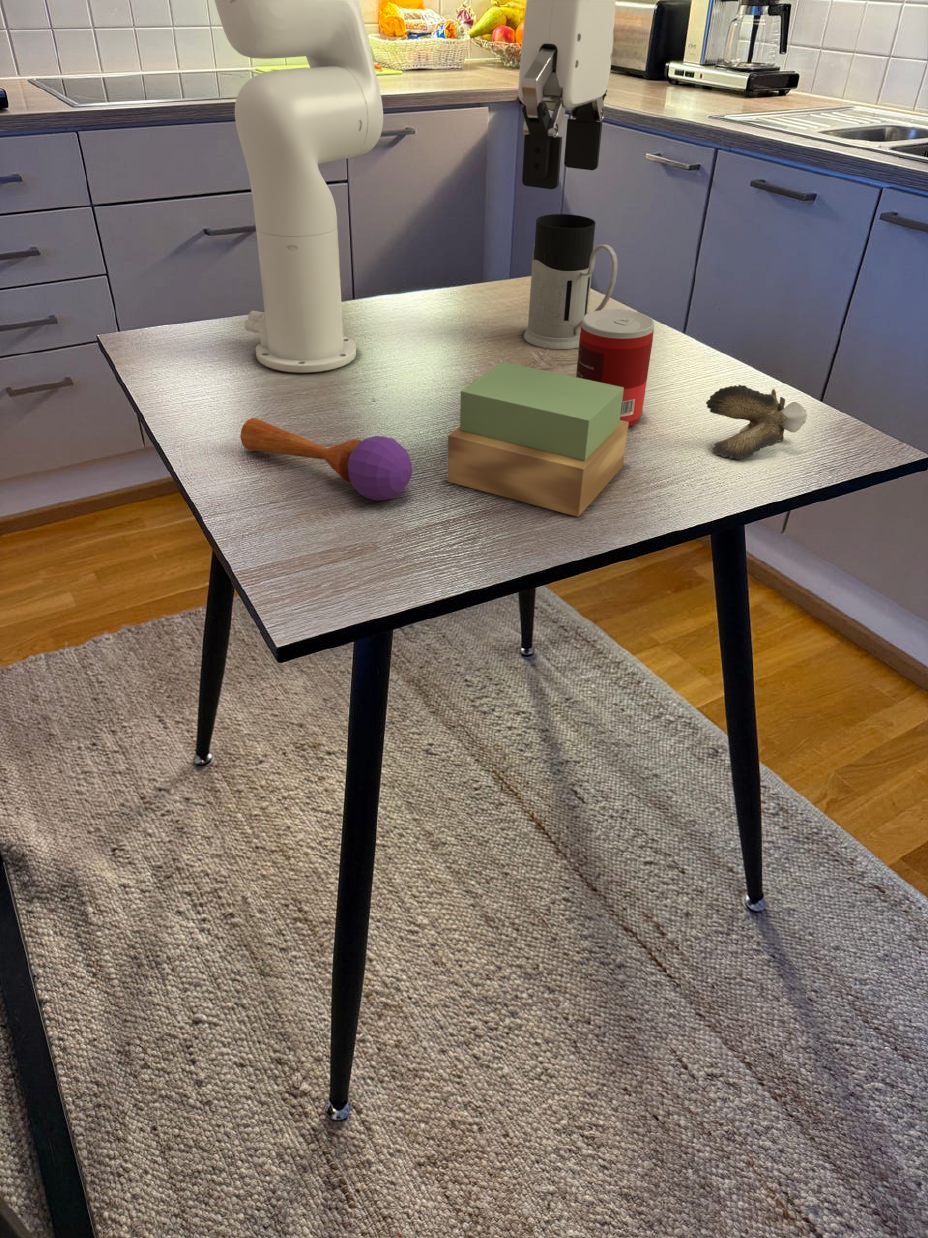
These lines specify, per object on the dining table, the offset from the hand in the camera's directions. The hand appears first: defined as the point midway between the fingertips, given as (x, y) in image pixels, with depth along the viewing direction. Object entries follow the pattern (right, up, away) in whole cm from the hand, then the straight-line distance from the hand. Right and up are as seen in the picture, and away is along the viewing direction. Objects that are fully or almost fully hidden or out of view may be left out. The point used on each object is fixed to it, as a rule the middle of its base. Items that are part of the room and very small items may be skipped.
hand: (561, 177), depth 84 cm
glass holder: (+5, -3, +42) cm, 42 cm away
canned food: (+7, -17, +22) cm, 29 cm away
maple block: (-1, -25, +10) cm, 27 cm away
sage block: (-1, -21, +7) cm, 22 cm away
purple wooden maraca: (-22, -26, +9) cm, 35 cm away
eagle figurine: (+22, -21, +17) cm, 35 cm away
